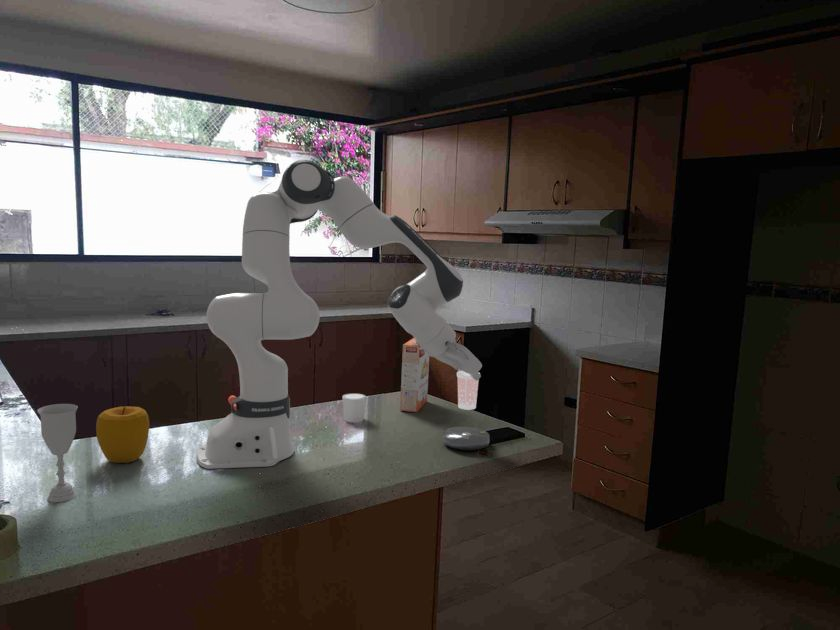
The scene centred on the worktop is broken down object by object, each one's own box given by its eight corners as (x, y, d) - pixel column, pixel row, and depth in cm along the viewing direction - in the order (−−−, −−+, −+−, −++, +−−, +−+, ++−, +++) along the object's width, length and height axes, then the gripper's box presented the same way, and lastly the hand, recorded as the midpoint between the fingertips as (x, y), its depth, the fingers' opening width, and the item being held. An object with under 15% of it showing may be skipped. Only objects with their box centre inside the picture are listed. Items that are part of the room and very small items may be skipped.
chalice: (87, 497, 122) (83, 409, 119) (49, 507, 116) (44, 416, 114) (73, 486, 126) (70, 401, 124) (36, 495, 121) (31, 408, 119)
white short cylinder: (364, 423, 174) (364, 399, 173) (340, 422, 174) (340, 398, 173) (366, 416, 181) (367, 393, 180) (343, 415, 181) (344, 392, 180)
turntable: (454, 455, 151) (455, 443, 151) (435, 439, 162) (435, 428, 162) (497, 450, 155) (497, 439, 155) (476, 435, 166) (476, 424, 166)
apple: (98, 473, 133) (96, 416, 132) (96, 456, 143) (93, 403, 141) (153, 464, 139) (151, 409, 137) (147, 449, 148) (145, 398, 146)
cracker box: (418, 413, 185) (420, 345, 182) (399, 411, 187) (401, 344, 184) (428, 401, 199) (430, 338, 196) (410, 399, 200) (412, 336, 197)
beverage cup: (481, 405, 160) (483, 352, 158) (475, 411, 154) (478, 357, 152) (458, 402, 162) (460, 350, 160) (452, 409, 156) (454, 355, 154)
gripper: (467, 337, 143) (500, 374, 149) (428, 323, 161) (459, 357, 167) (449, 356, 142) (483, 394, 147) (412, 341, 160) (443, 374, 165)
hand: (470, 374), depth 157 cm, fingers closed on beverage cup, 6 cm apart
